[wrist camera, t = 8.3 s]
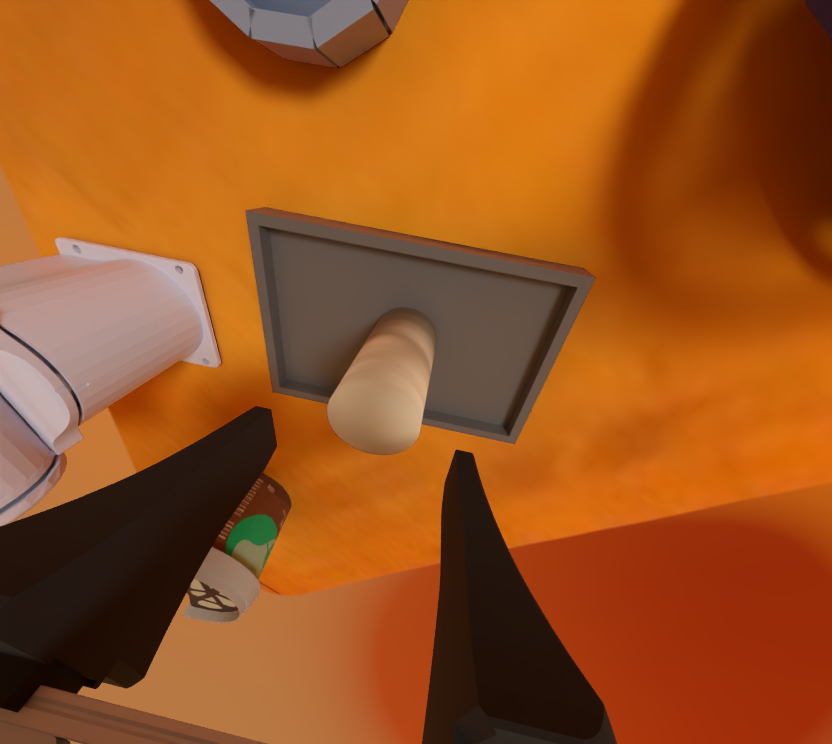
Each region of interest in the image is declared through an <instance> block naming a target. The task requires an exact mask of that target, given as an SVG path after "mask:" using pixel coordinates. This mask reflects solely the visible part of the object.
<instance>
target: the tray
mask: <svg viewBox="0 0 832 744" xmlns="http://www.w3.org/2000/svg"><path fill="white" fill-rule="evenodd" d="M245 211H246V217H247V224H248V230H249V237H250V244H251V250H252V257H253V264H254V270H255V277H256V284H257V290H258V297H259V304H260V310H261V317H262V323H263V330H264V337H265V343H266V350H267V357H268V363H269V370H270V377H271V383H272V390H273V392H276V393H281V394H285V395H290V396H294V397H299V398H304V399H308V400H313V401H318V402H322V403H327V404H328V403H329V400H330V398H331V396H332V395H333V393H334V392H335V390H336V388H337V387H338V385H339V384H340V382H341V380H342V379H343V377H344V376H345V374H346V372H347V371H348V369H349V367H350V366H351V364H352V363H353V361H354V359H355V358H356V356H357V355H358V353H359V351H360V350H361V348H362V347H363V345H364V343H365V342H366V340H367V338H368V337H369V335H370V334H371V332H372V330H373V329H374V327H375V326H376V324H377V322H378V321H379V319H380V318H381V317H382V316H383V315H384V314H385V313H386V312H388V311H390V310H392V309H395V308H402V307H404V308H412V309H415V310H417V311H419V312H421V313H423V314H424V315H425V316H427V317H428V318H429V319H430V321H431V322H432V323H433V325H434V327H435V330H436V334H437V343H436V348H435V354H434V359H433V364H432V370H431V375H430V380H429V386H428V391H427V396H426V402H425V407H424V412H423V418H422V423H421V424H424V425H429V426H433V427H438V428H442V429H447V430H452V431H456V432H461V433H465V434H470V435H475V436H479V437H484V438H489V439H493V440H498V441H502V442H507V443H512V444H515V443H516V440H517V438H518V436H519V434H520V432H521V430H522V428H523V426H524V424H525V422H526V420H527V418H528V416H529V414H530V412H531V410H532V407H533V405H534V403H535V401H536V399H537V397H538V395H539V393H540V391H541V389H542V387H543V385H544V383H545V381H546V379H547V377H548V375H549V372H550V370H551V368H552V366H553V364H554V362H555V360H556V358H557V356H558V354H559V352H560V350H561V348H562V346H563V344H564V342H565V340H566V337H567V335H568V333H569V331H570V329H571V327H572V325H573V323H574V321H575V319H576V317H577V315H578V313H579V311H580V309H581V307H582V305H583V302H584V300H585V298H586V296H587V294H588V292H589V290H590V288H591V286H592V284H593V282H594V280H595V277H594V276H593V275H592V274H590V273H589V272H588V271H587V270H585V269H584V268H580V267H574V266H569V265H564V264H559V263H554V262H548V261H543V260H538V259H533V258H527V257H522V256H517V255H512V254H507V253H501V252H496V251H491V250H486V249H480V248H475V247H470V246H465V245H460V244H454V243H449V242H444V241H439V240H433V239H428V238H423V237H418V236H412V235H407V234H402V233H397V232H392V231H386V230H381V229H376V228H371V227H365V226H360V225H355V224H350V223H345V222H339V221H334V220H329V219H324V218H318V217H313V216H308V215H303V214H297V213H292V212H287V211H282V210H277V209H271V208H266V207H264V208H258V209H252V210H245Z"/></svg>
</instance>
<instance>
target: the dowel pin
mask: <svg viewBox="0 0 832 744" xmlns="http://www.w3.org/2000/svg"><path fill="white" fill-rule="evenodd" d="M436 343H437V334H436V330H435V327H434V325H433V323H432V322H431V321H430V319H429V318H428V317H427V316H425V315H424V314H423V313H421V312H419V311H417V310H415V309H412V308H404V307H402V308H395V309H392V310H390V311H388V312H386V313H385V314H384V315H383V316H382V317H381V318H380V319H379V321H378V322H377V324H376V326H375V327H374V329H373V330H372V332H371V334H370V335H369V337H368V338H367V340H366V342H365V343H364V345H363V347H362V348H361V350H360V351H359V353H358V355H357V356H356V358H355V359H354V361H353V363H352V364H351V366H350V367H349V369H348V371H347V372H346V374H345V376H344V377H343V379H342V380H341V382H340V384H339V385H338V387H337V388H336V390H335V392H334V393H333V395H332V396H331V398H330V400H329V403H328V406H327V416H328V420H329V423H330V425H331V427H332V429H333V430H334V432H335V433H336V434H337V435H338V436H339V437H340V438H341V439H342V440H343V441H344V442H345V443H347V444H348V445H350V446H352V447H353V448H355V449H358V450H360V451H363V452H366V453H370V454H376V455H391V454H396V453H399V452H402V451H404V450H406V449H408V448H409V447H410V446H412V445H413V444H414V442H415V441H416V440H417V438H418V436H419V433H420V428H421V423H422V418H423V412H424V407H425V402H426V396H427V391H428V386H429V380H430V375H431V370H432V364H433V359H434V354H435V348H436Z"/></svg>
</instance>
